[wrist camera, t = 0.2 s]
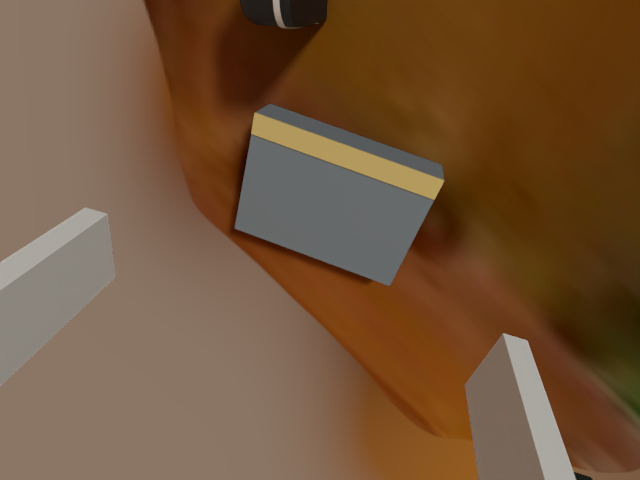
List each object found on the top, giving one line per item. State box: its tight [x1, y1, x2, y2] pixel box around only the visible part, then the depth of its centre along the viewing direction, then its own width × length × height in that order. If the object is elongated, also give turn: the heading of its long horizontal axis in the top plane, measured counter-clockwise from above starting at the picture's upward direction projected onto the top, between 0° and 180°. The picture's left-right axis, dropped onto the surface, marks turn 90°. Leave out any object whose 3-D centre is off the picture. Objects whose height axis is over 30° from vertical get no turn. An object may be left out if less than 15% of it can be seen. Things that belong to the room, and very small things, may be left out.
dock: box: [235, 104, 444, 286], centre depth 39 cm, size 13×18×4 cm
